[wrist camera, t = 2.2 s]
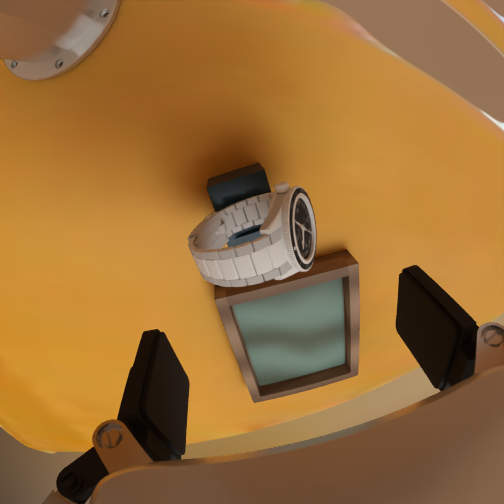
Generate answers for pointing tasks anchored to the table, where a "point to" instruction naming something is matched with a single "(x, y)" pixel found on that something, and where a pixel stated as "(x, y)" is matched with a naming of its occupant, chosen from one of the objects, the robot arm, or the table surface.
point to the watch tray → (295, 327)
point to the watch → (253, 230)
